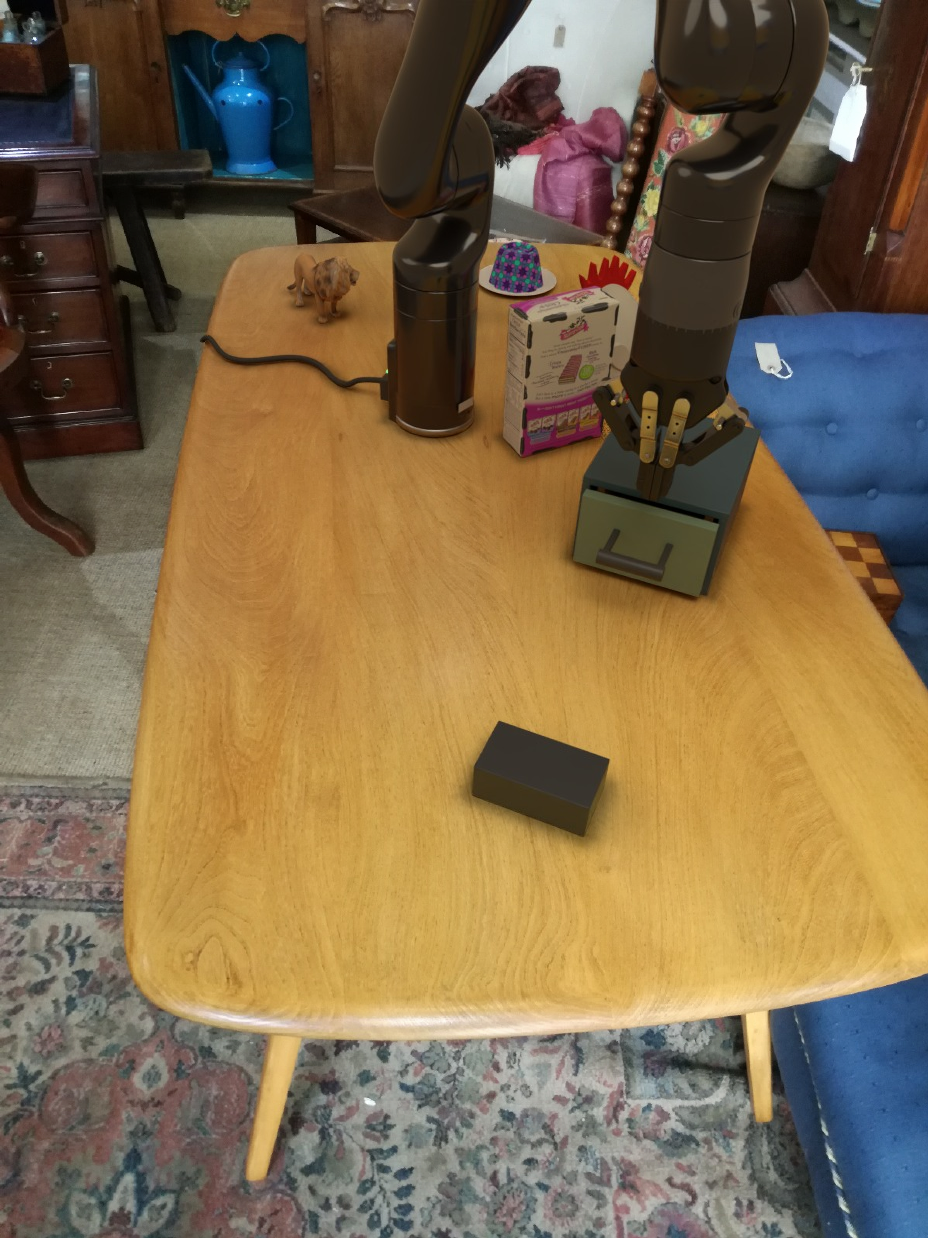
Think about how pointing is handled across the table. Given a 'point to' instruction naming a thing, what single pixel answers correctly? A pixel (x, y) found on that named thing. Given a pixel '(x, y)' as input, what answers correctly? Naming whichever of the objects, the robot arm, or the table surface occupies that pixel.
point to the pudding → (517, 271)
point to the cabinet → (684, 481)
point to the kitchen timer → (618, 288)
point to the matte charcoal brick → (540, 777)
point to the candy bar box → (557, 368)
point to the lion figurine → (323, 281)
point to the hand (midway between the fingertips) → (651, 494)
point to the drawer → (645, 540)
